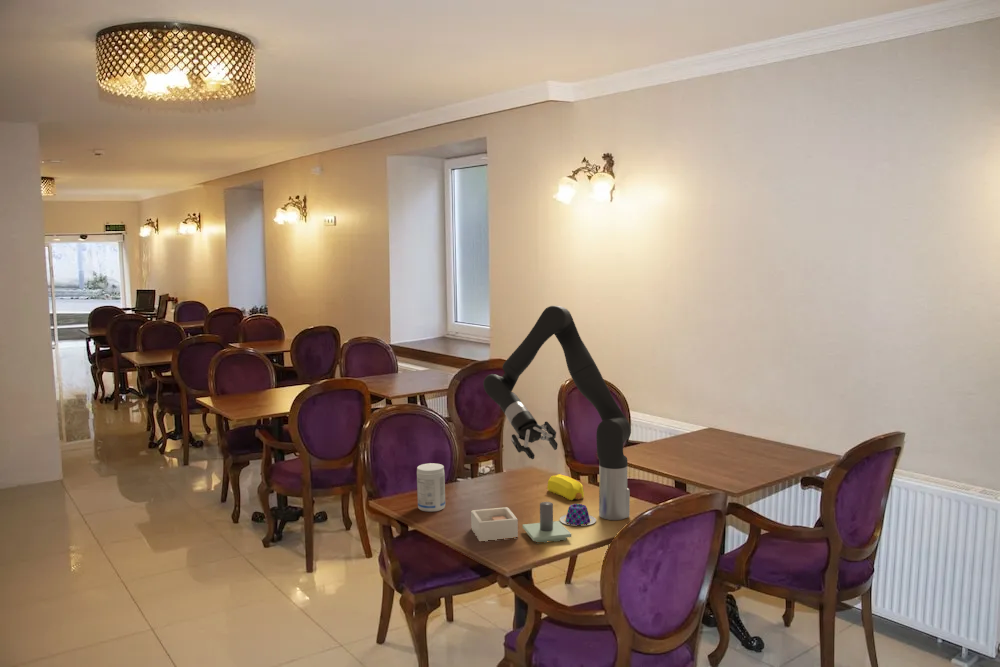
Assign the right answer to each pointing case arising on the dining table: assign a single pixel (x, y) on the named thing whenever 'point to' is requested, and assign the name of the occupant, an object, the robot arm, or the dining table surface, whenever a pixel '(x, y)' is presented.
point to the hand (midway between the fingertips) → (544, 452)
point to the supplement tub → (431, 487)
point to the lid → (546, 526)
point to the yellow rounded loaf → (565, 487)
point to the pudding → (578, 515)
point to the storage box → (494, 524)
